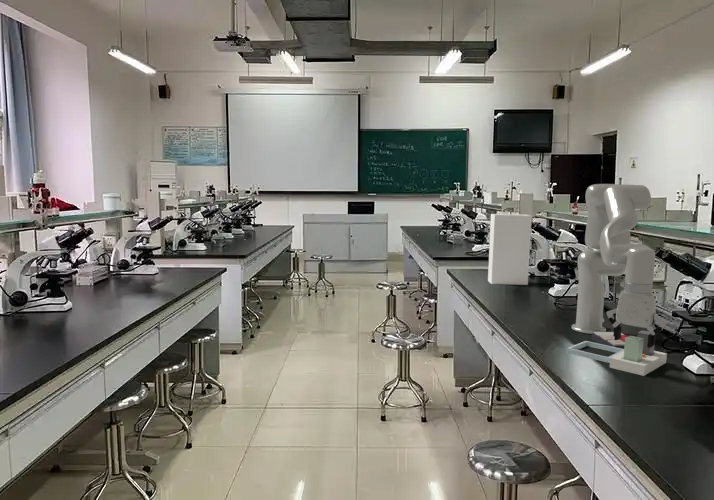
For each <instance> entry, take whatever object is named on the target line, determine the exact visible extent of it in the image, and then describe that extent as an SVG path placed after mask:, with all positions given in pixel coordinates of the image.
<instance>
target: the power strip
mask: <svg viewBox="0 0 714 500" xmlns="http://www.w3.org/2000/svg"><path fill="white" fill-rule="evenodd" d="M667 356H668V353H667V352H666V353H665V352H661V351H658V350H657V351H656V350H654V355H652V356H648V355H645V354H642V361H641V362H639V363H638V362H633V361H629V360H625V359H624V352H621V353H619V354H617V355H615V356H613V357H611V358H610V363H609V368H611V369H614V370H618V371H622V372H626V373H631V374H634V375H639V376H643V377H644V376H646V375H647V374H649V373H651V372H653V371H655V370H656V369H658V368H659V367H661V366H663V365H665V364H666V363H667Z"/></svg>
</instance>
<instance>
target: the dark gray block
mask: <svg viewBox="0 0 714 500" xmlns="http://www.w3.org/2000/svg"><path fill="white" fill-rule="evenodd" d="M636 334H637V336H636V337H639V338H644V340H643V352H642V354H645V355H648V356H652V355H654V351H655V345H656V344H655V345H653V346H652V347H651V348H648V347H647V344H648V335H649V334H650V332H649V331H648V330H644V329H643V330H640V331H638V332H637V333H636Z"/></svg>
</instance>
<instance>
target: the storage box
mask: <svg viewBox="0 0 714 500" xmlns="http://www.w3.org/2000/svg"><path fill="white" fill-rule="evenodd" d="M532 218H533V217H532V215H531V214H521V213H520V214H513V213H512V214H511V213H506V214H505V213H490V227H489V247H488V271H487V273H488V274H487V282H489V284H491V285H517V286H519V285H520V286H524V285H525V286H528V285H529V272H530V271H529V270H530V255H531V253H530V252H531V251H530V250H531V235H532V234H531V232H532Z"/></svg>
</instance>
